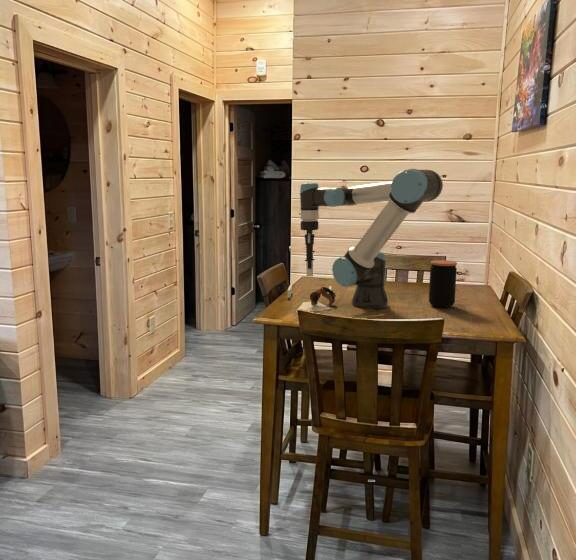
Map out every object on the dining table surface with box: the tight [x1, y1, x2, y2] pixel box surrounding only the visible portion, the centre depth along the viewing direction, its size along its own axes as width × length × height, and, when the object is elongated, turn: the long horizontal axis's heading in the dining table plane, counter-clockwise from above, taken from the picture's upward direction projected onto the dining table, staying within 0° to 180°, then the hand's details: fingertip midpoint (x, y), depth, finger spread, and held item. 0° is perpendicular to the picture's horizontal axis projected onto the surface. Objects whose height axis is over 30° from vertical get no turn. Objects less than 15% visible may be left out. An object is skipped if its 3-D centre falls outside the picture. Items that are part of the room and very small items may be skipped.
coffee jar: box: [428, 259, 458, 308], centre depth 229 cm, size 11×11×18 cm
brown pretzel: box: [287, 284, 332, 299], centre depth 245 cm, size 12×19×4 cm, turn 85°
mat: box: [296, 301, 334, 313], centre depth 225 cm, size 16×16×1 cm
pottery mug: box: [309, 286, 337, 307], centre depth 228 cm, size 12×9×8 cm
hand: (309, 276), depth 233 cm, fingers closed
